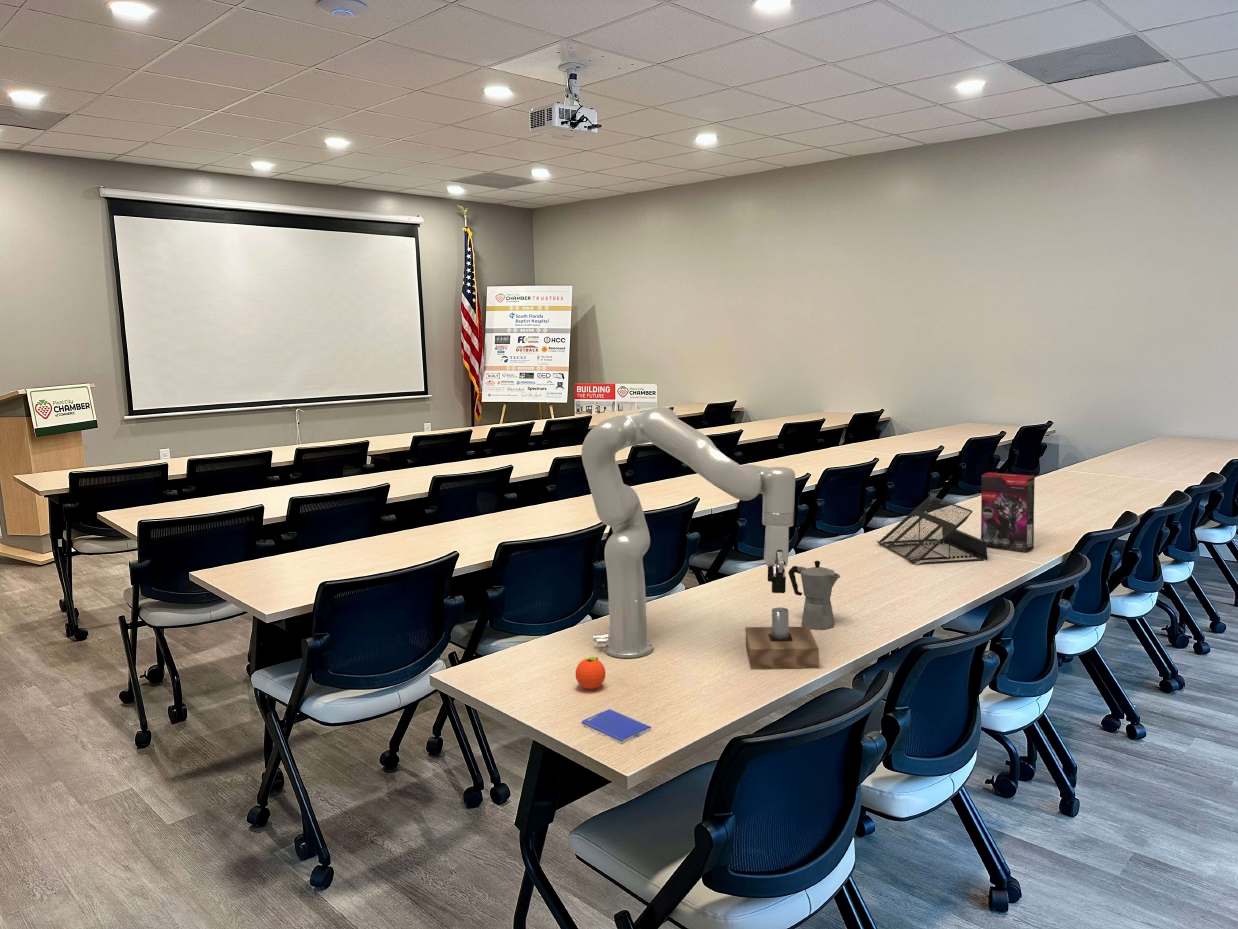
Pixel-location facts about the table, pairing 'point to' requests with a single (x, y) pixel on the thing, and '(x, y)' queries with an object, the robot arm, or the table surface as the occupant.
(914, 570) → the table surface
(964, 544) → the portable electronic device stand
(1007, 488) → the graphics card box
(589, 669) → the clementine
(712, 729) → the table surface
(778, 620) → the peg
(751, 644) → the socket block
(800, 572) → the coffeepot
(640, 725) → the hard drive
